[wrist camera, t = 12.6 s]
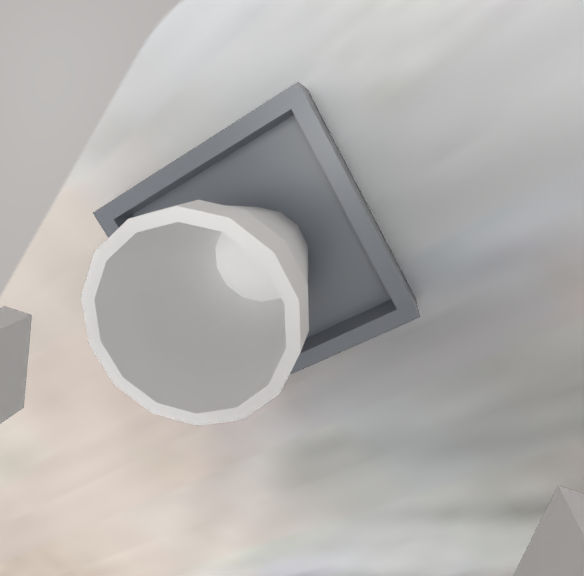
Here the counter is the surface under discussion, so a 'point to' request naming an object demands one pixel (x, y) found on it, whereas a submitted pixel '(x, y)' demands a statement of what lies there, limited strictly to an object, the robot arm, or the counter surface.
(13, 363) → the robot arm
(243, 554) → the counter surface
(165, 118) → the counter surface
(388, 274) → the bin
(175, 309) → the foam cup
